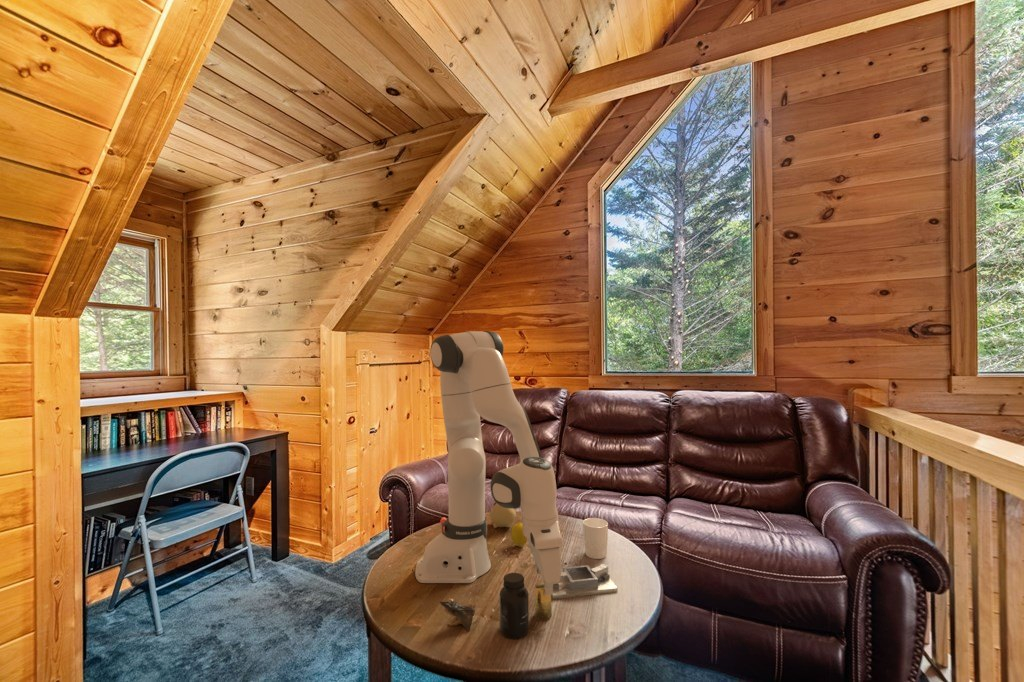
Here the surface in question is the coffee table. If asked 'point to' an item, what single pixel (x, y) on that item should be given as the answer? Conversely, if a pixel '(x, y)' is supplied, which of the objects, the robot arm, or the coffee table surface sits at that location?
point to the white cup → (595, 537)
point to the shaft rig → (583, 582)
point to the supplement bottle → (514, 607)
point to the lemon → (518, 534)
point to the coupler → (542, 603)
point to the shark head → (459, 613)
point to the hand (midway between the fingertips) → (544, 582)
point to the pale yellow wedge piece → (502, 516)
